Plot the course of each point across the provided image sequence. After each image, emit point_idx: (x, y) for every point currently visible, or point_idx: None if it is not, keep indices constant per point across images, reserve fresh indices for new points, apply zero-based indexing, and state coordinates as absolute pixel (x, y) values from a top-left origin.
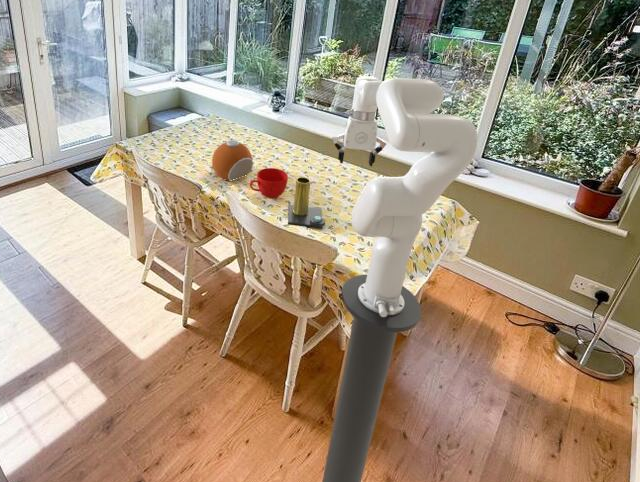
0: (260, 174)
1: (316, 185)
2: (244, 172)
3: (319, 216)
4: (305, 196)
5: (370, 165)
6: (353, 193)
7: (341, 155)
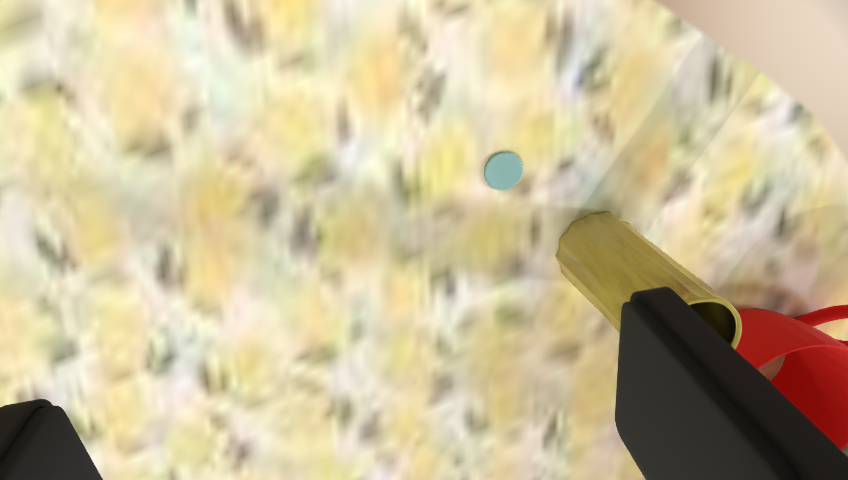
0: (830, 419)
1: (510, 475)
2: (845, 451)
3: (496, 187)
4: (620, 259)
5: (43, 410)
6: (327, 476)
7: (775, 424)
